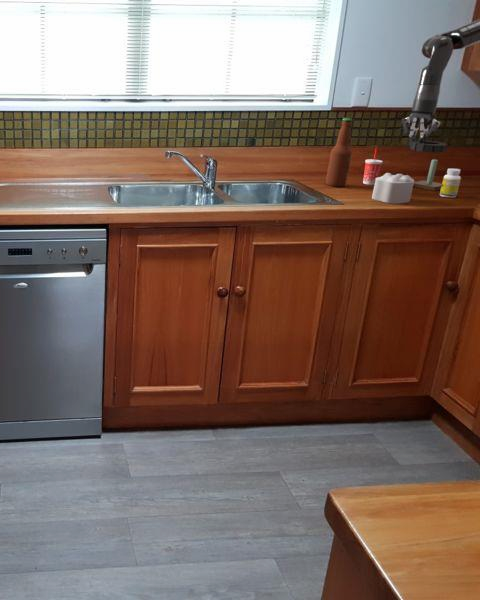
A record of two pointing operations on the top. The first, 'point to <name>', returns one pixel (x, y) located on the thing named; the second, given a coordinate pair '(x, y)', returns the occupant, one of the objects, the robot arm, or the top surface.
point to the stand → (429, 179)
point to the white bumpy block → (393, 188)
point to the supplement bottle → (450, 183)
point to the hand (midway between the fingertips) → (415, 147)
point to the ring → (428, 146)
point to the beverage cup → (371, 170)
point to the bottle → (340, 157)
